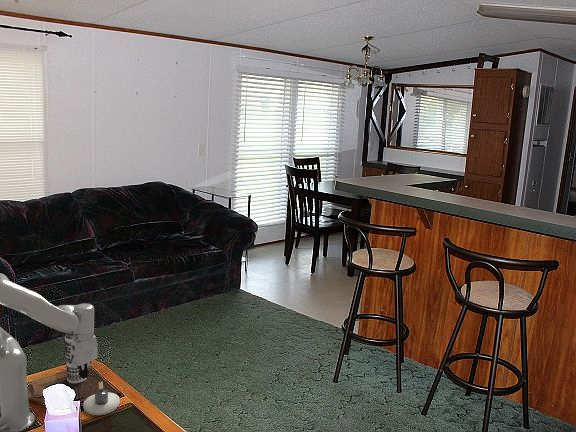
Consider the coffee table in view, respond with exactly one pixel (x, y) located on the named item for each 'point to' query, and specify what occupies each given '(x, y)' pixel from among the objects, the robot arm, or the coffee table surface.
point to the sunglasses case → (35, 393)
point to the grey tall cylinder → (71, 372)
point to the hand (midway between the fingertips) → (83, 377)
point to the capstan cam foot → (101, 395)
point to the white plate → (103, 409)
